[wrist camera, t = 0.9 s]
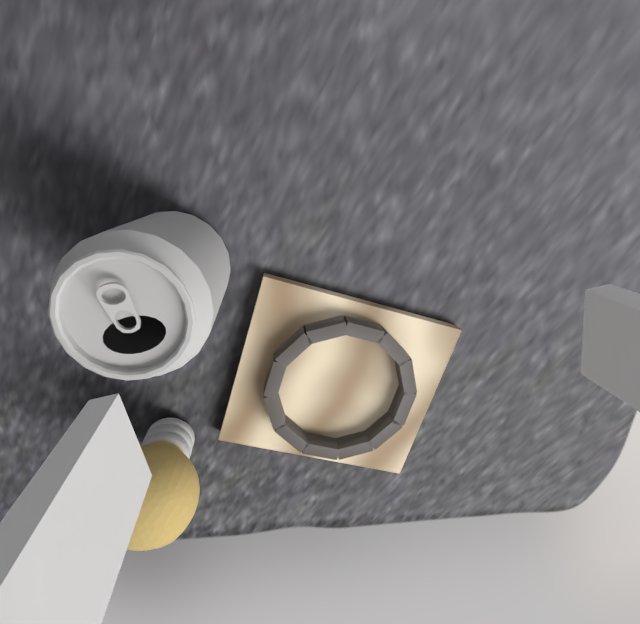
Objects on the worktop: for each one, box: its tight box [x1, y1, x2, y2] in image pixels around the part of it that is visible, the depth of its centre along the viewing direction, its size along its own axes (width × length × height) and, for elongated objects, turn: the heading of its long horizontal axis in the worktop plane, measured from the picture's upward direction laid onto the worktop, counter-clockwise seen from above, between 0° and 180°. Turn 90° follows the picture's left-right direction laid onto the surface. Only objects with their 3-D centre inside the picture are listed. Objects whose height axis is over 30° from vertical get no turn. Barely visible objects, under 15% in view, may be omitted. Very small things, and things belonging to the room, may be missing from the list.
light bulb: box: [127, 418, 200, 551], centre depth 29 cm, size 6×6×10 cm
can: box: [49, 211, 231, 381], centre depth 24 cm, size 8×8×12 cm
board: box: [219, 273, 462, 473], centre depth 33 cm, size 16×14×3 cm
